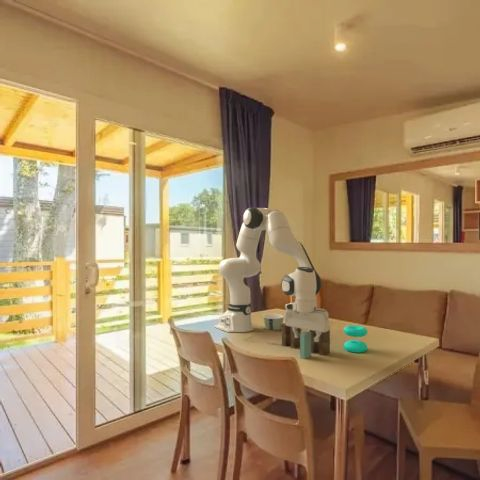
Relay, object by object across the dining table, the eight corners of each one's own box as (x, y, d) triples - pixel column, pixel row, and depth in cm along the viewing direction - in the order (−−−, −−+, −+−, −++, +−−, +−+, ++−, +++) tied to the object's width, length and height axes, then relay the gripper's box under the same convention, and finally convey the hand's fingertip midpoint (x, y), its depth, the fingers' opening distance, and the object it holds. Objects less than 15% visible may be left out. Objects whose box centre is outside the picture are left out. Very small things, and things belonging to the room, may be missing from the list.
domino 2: (290, 347, 167) (290, 325, 167) (297, 345, 170) (297, 323, 170) (294, 348, 165) (294, 326, 165) (300, 346, 169) (300, 324, 169)
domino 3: (300, 357, 152) (300, 333, 152) (307, 355, 156) (307, 331, 156) (304, 359, 151) (304, 334, 151) (311, 356, 154) (311, 332, 154)
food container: (284, 330, 197) (284, 318, 197) (261, 330, 199) (261, 318, 199) (285, 325, 209) (284, 314, 209) (263, 325, 210) (263, 313, 210)
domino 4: (309, 352, 160) (309, 329, 159) (315, 349, 163) (315, 327, 163) (313, 353, 158) (313, 329, 158) (319, 350, 162) (319, 327, 162)
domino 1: (281, 345, 170) (281, 323, 170) (288, 343, 174) (288, 321, 174) (285, 346, 169) (285, 324, 169) (292, 343, 172) (291, 322, 172)
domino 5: (319, 354, 156) (319, 331, 156) (325, 352, 160) (325, 328, 160) (323, 355, 155) (323, 331, 155) (329, 353, 158) (329, 329, 158)
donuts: (362, 331, 155) (339, 327, 162) (362, 355, 155) (340, 350, 162) (370, 326, 163) (349, 323, 169) (371, 349, 163) (349, 345, 169)
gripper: (332, 308, 148) (332, 342, 148) (290, 302, 162) (291, 334, 162) (323, 310, 143) (324, 345, 143) (282, 304, 158) (282, 337, 158)
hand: (306, 339), depth 153 cm, fingers open, 8 cm apart
